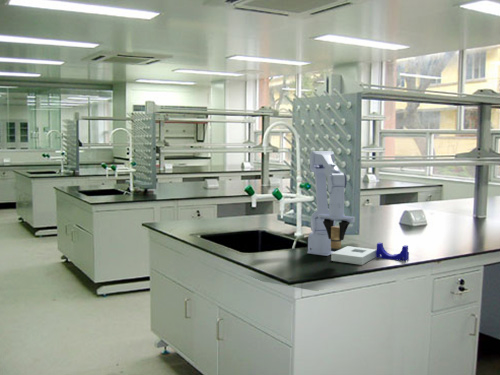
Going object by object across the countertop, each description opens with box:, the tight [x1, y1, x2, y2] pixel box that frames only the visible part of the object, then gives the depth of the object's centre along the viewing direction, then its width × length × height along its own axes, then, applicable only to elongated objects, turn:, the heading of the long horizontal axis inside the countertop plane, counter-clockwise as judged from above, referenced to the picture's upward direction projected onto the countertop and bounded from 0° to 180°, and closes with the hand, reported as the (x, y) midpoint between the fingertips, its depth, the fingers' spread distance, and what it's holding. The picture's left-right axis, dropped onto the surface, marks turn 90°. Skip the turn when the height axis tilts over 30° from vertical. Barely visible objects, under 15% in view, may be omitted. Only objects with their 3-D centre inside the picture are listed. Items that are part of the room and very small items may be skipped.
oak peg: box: [331, 225, 342, 250], centre depth 194 cm, size 4×4×8 cm
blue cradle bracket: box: [376, 242, 410, 262], centre depth 207 cm, size 12×4×6 cm, turn 58°
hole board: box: [330, 245, 377, 266], centre depth 206 cm, size 13×17×3 cm
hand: (336, 239), depth 194 cm, fingers closed on oak peg, 4 cm apart
